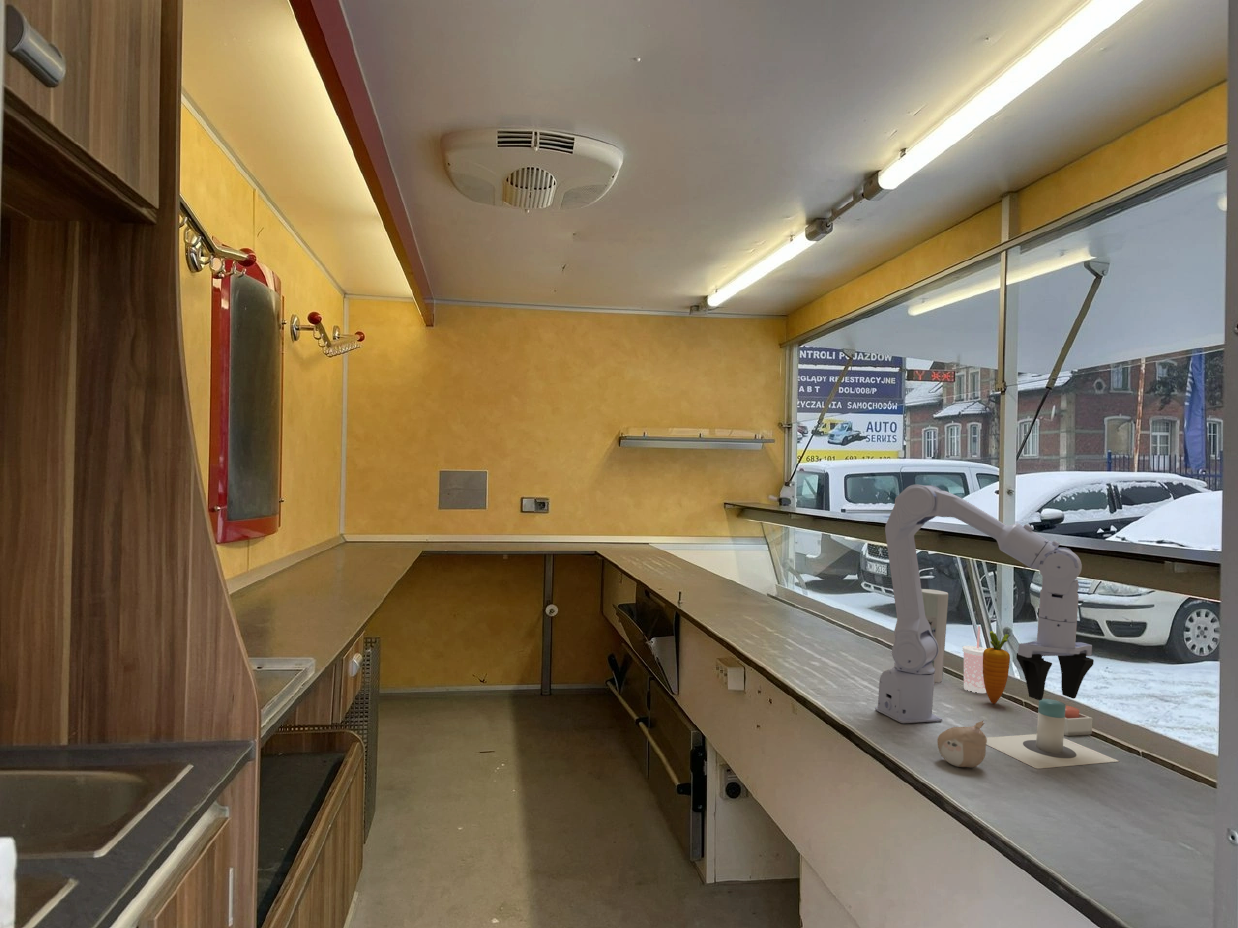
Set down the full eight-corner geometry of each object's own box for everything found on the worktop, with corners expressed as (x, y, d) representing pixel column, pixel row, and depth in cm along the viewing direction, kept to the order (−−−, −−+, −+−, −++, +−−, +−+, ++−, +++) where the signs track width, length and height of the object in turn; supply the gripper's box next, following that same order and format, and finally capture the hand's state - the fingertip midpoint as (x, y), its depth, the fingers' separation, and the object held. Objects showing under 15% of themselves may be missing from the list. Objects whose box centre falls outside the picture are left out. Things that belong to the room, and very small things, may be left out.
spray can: (905, 675, 172) (911, 589, 172) (926, 673, 175) (931, 588, 175) (928, 683, 166) (934, 594, 166) (949, 681, 169) (954, 593, 169)
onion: (956, 774, 115) (960, 722, 115) (929, 758, 121) (932, 708, 121) (992, 772, 116) (995, 721, 116) (963, 756, 123) (966, 708, 123)
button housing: (1067, 735, 136) (1068, 719, 136) (1039, 724, 142) (1040, 708, 142) (1091, 734, 138) (1092, 717, 138) (1063, 722, 144) (1064, 707, 144)
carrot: (1006, 702, 155) (1010, 630, 155) (1007, 709, 151) (1012, 635, 151) (979, 698, 157) (984, 627, 157) (980, 704, 153) (984, 631, 153)
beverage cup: (987, 696, 159) (991, 630, 159) (956, 689, 163) (960, 625, 163) (993, 690, 164) (997, 626, 164) (963, 684, 168) (967, 621, 168)
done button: (1067, 723, 138) (1067, 712, 138) (1047, 715, 142) (1048, 704, 142) (1084, 721, 139) (1084, 711, 139) (1064, 714, 143) (1064, 703, 143)
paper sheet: (1036, 768, 119) (1036, 767, 119) (974, 738, 131) (974, 737, 131) (1119, 761, 125) (1119, 760, 125) (1051, 733, 137) (1051, 732, 137)
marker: (1050, 753, 126) (1053, 706, 126) (1030, 744, 130) (1033, 698, 130) (1068, 752, 127) (1071, 705, 127) (1048, 743, 131) (1050, 698, 131)
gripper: (1045, 624, 122) (1039, 706, 122) (1110, 623, 127) (1105, 703, 127) (1010, 615, 129) (1005, 693, 129) (1073, 614, 134) (1068, 690, 134)
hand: (1052, 697), depth 129 cm, fingers open, 7 cm apart
